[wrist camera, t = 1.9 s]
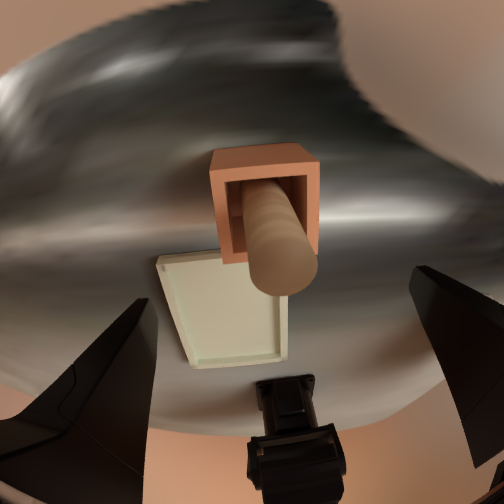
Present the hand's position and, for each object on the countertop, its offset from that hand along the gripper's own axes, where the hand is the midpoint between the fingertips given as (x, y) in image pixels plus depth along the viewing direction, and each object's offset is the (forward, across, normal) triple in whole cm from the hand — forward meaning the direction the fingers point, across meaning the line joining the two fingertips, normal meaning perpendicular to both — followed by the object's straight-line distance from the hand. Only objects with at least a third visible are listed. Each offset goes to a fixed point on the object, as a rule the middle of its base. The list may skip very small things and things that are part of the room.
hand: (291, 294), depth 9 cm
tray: (+11, +3, +10) cm, 15 cm away
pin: (+10, 0, 0) cm, 10 cm away
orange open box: (+11, 0, 0) cm, 11 cm away
